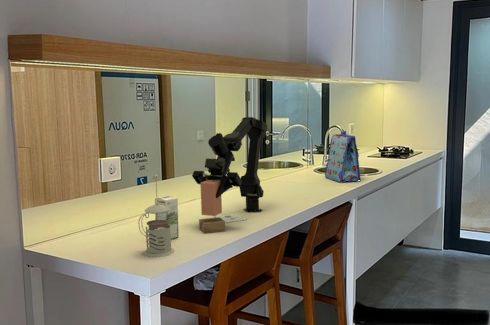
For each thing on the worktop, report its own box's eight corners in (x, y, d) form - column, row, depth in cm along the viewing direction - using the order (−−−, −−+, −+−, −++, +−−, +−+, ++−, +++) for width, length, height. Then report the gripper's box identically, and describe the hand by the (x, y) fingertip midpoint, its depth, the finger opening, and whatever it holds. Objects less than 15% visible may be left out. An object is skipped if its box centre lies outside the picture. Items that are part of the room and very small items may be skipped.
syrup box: (168, 235, 181) (166, 195, 179) (179, 237, 177) (177, 197, 175) (155, 238, 176) (153, 197, 174) (167, 241, 172) (165, 199, 171)
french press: (164, 258, 154) (161, 177, 151) (132, 254, 158) (128, 176, 155) (180, 249, 163) (177, 172, 160) (149, 246, 167) (146, 171, 164)
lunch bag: (361, 181, 287) (361, 131, 284) (339, 183, 284) (339, 132, 280) (344, 176, 308) (344, 129, 305) (323, 178, 305) (323, 130, 301)
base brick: (199, 228, 189) (198, 219, 189) (219, 226, 192) (219, 217, 191) (204, 233, 182) (203, 224, 181) (225, 231, 184) (225, 221, 184)
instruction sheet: (214, 216, 207) (214, 216, 207) (233, 214, 212) (233, 213, 212) (226, 222, 197) (226, 221, 197) (247, 219, 201) (247, 218, 201)
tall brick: (209, 211, 190) (207, 179, 188) (221, 212, 187) (220, 179, 186) (201, 214, 185) (200, 181, 183) (214, 216, 182) (213, 182, 181)
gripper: (193, 149, 191) (178, 182, 182) (237, 150, 183) (224, 185, 174) (204, 167, 199) (191, 200, 190) (247, 169, 191) (234, 203, 182)
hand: (209, 196), depth 184 cm, fingers closed on tall brick, 5 cm apart
